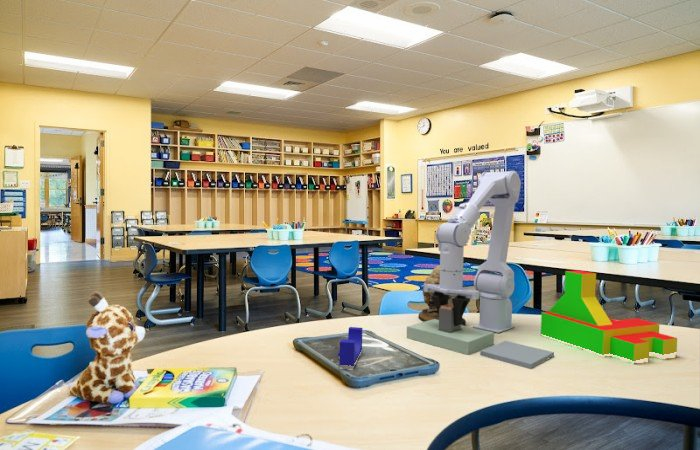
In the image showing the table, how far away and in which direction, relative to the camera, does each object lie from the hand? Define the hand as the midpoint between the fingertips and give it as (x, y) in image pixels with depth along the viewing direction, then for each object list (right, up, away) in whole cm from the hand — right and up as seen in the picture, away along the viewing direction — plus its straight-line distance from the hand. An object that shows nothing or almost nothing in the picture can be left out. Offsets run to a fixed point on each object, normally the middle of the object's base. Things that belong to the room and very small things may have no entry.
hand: (450, 323), depth 119 cm
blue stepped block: (-26, -5, -15) cm, 31 cm away
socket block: (0, -5, 0) cm, 4 cm away
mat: (+13, -5, -10) cm, 18 cm away
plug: (0, -4, 0) cm, 4 cm away
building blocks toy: (+39, -6, -1) cm, 40 cm away
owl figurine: (+2, -4, +21) cm, 21 cm away
